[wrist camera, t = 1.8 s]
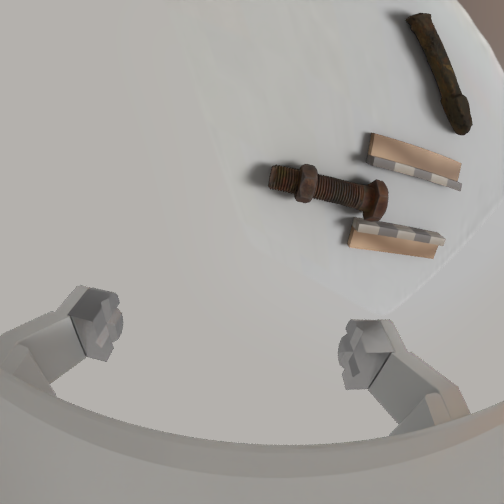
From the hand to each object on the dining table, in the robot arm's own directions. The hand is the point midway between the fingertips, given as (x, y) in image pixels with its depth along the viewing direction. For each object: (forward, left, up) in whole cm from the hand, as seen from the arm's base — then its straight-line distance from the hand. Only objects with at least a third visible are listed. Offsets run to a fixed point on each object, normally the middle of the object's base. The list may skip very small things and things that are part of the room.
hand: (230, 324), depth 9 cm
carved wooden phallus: (-20, +25, -30) cm, 44 cm away
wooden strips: (+1, +23, -29) cm, 37 cm away
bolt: (+1, +10, -30) cm, 31 cm away
